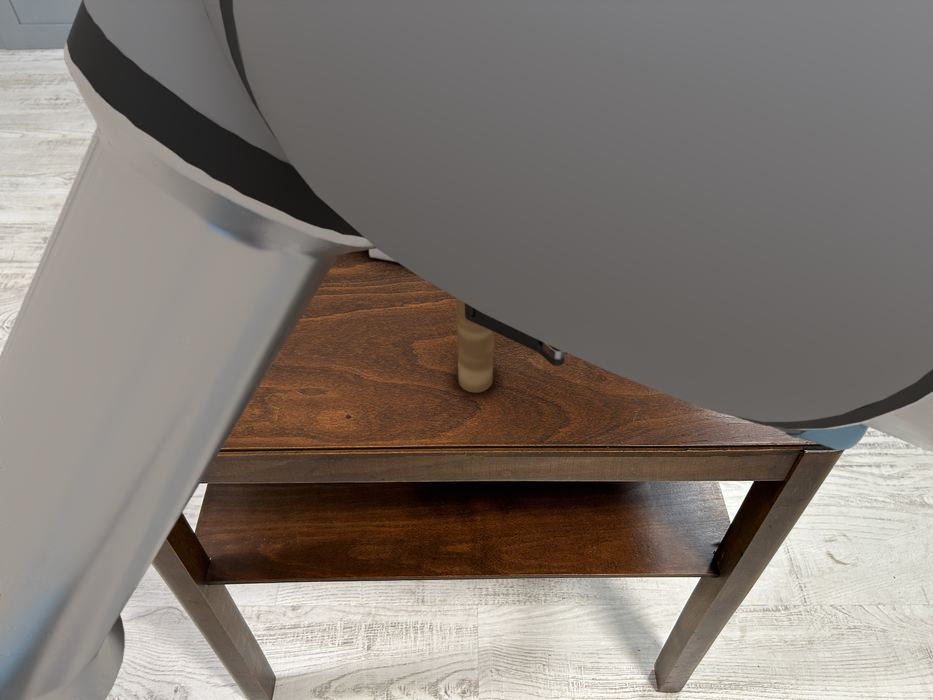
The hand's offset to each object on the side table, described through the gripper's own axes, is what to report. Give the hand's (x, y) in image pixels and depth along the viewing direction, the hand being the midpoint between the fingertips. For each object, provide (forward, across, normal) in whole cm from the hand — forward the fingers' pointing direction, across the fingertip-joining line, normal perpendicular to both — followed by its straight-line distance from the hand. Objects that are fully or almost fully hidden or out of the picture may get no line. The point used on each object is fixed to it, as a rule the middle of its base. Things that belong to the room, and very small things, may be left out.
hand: (425, 246), depth 67 cm
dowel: (-5, 0, -15) cm, 16 cm away
